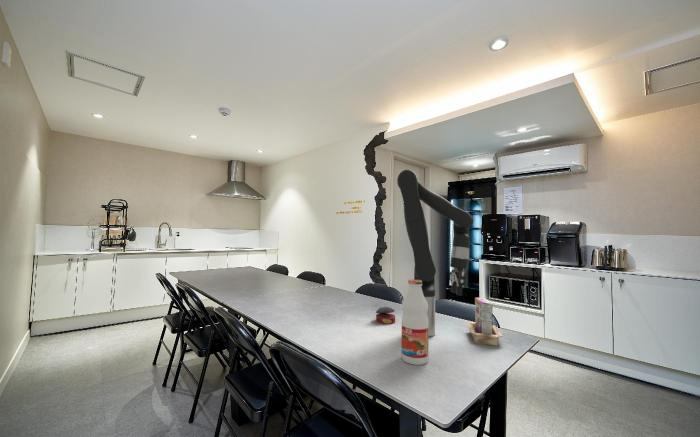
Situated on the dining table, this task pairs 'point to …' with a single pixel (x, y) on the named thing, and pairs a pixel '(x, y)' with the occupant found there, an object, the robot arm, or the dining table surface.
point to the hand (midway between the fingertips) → (456, 294)
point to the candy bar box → (483, 316)
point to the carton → (484, 335)
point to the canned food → (385, 316)
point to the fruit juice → (415, 325)
